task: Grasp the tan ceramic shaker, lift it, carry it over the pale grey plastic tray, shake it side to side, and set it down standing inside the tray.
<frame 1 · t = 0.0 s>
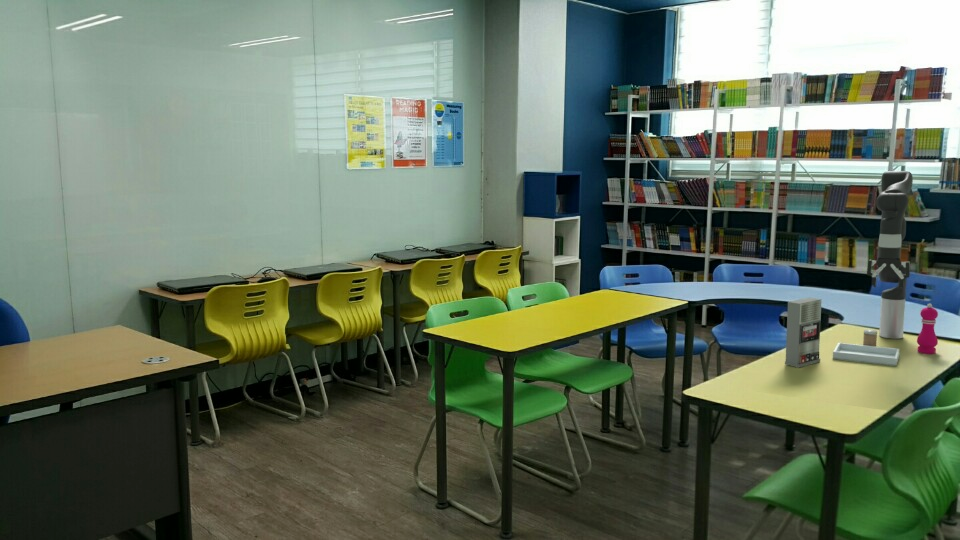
hand: (887, 287, 277), 29 cm above the table, fingers open, 8 cm apart
cassette tape recorder: (802, 364, 281), on the table
tray: (865, 357, 287), on the table
shaker: (869, 349, 298), on the table
pepper mill: (926, 352, 293), on the table
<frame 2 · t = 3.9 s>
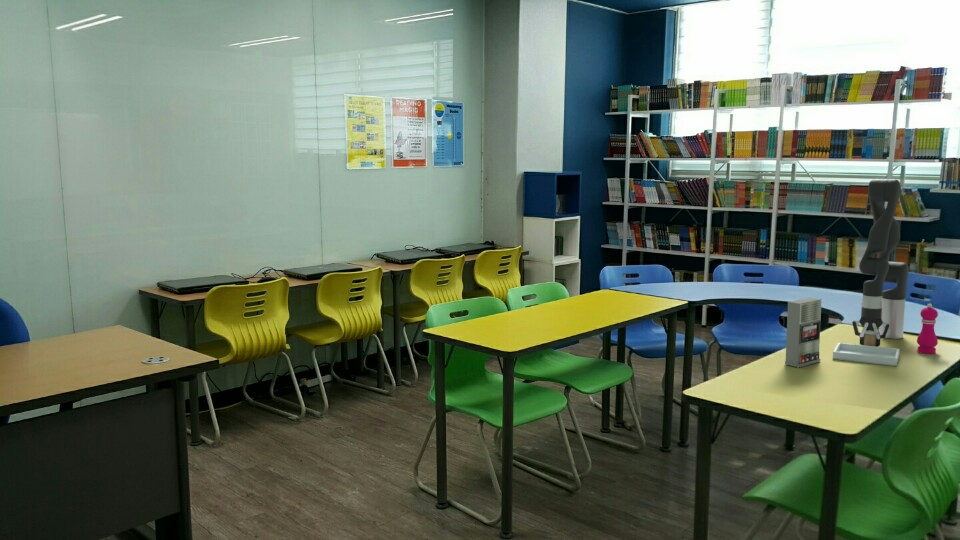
hand: (869, 346, 298), 1 cm above the table, fingers closed on shaker, 4 cm apart
shaker: (869, 349, 298), on the table, touching gripper
everything else where it was.
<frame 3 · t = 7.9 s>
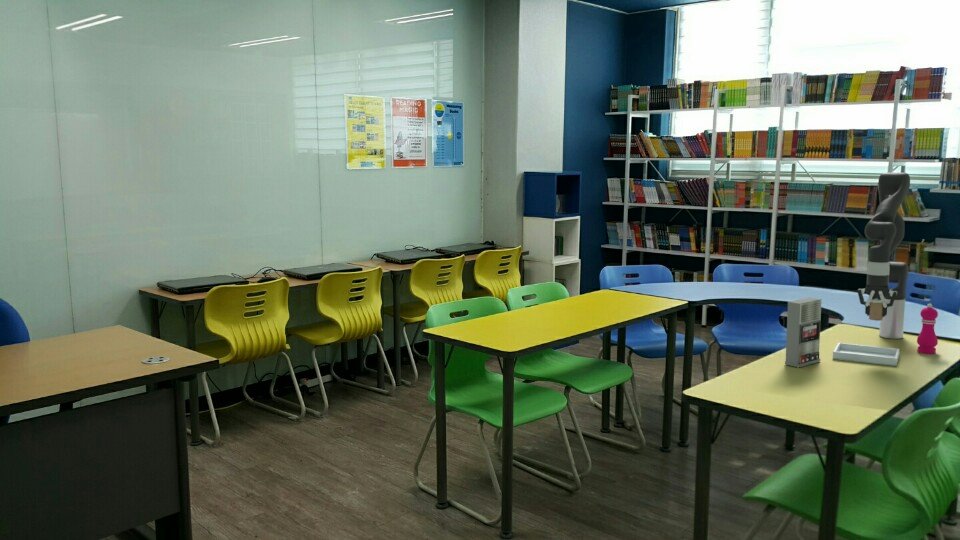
hand: (875, 315, 283), 17 cm above the table, fingers closed on shaker, 4 cm apart
shaker: (875, 319, 283), point 16 cm above the table, touching gripper
everything else where it was.
when the fingers open (3 cm above the table, at t = 12.0 s): shaker stays where it is, resting on tray.
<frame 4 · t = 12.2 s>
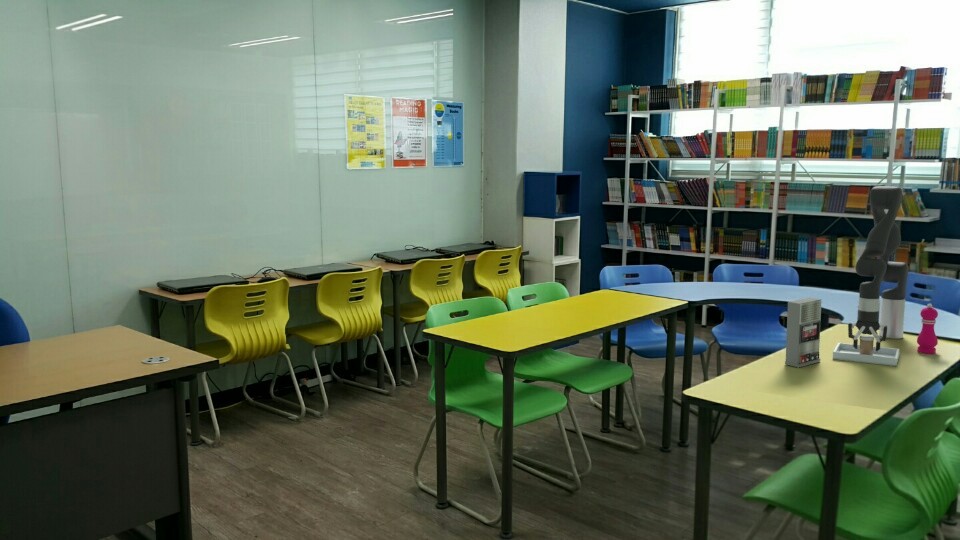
hand: (866, 349, 286), 3 cm above the table, fingers open, 6 cm apart
shaker: (865, 356, 287), resting on tray
everything else where it was.
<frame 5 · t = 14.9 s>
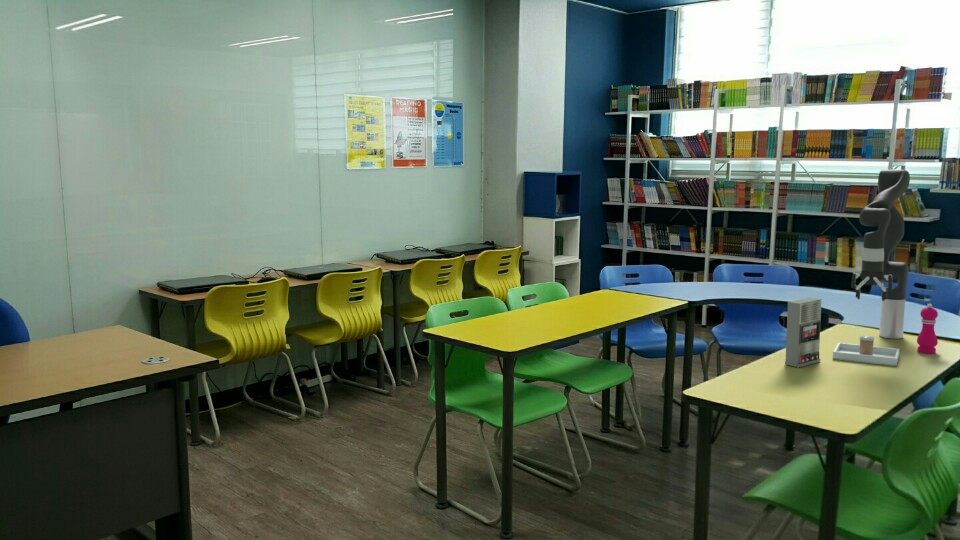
hand: (870, 299, 285), 23 cm above the table, fingers open, 8 cm apart
nothing on the table moved.
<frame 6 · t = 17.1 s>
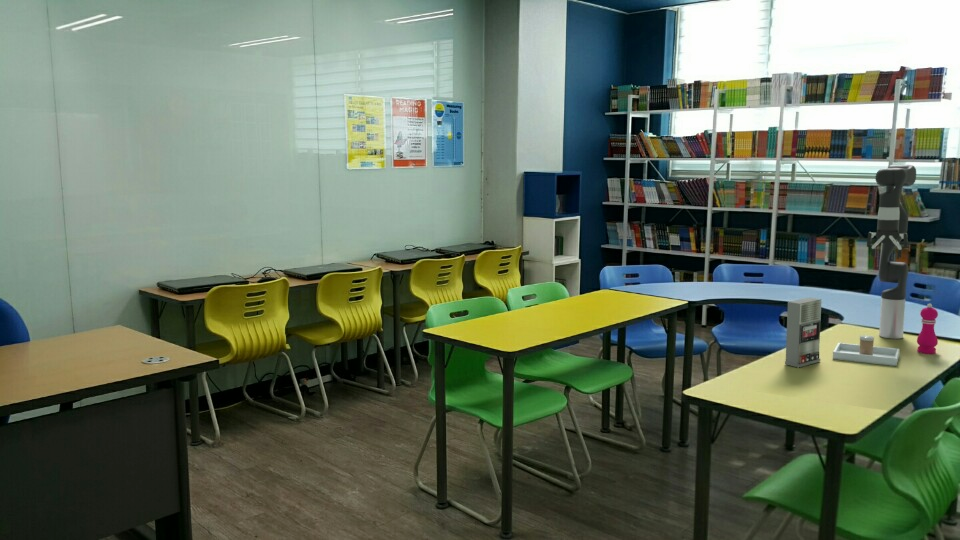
hand: (886, 258, 292), 38 cm above the table, fingers open, 8 cm apart
nothing on the table moved.
at the end: shaker inside the target area on the tray (0.1 cm from its centre), point 0.5 cm above the tray's base; shaker tilted 0°; the gripper is holding nothing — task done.
